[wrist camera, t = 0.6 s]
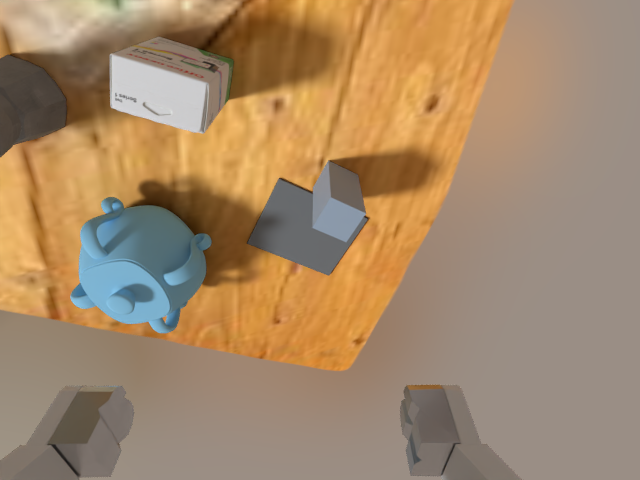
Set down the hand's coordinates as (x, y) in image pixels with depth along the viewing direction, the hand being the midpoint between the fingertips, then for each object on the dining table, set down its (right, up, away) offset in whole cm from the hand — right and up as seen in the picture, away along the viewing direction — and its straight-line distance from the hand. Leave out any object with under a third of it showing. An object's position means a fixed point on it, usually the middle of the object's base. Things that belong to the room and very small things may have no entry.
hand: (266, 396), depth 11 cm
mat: (0, +6, +44) cm, 45 cm away
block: (+4, +13, +40) cm, 42 cm away
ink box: (-13, +24, +32) cm, 42 cm away
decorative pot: (-23, +4, +45) cm, 51 cm away
